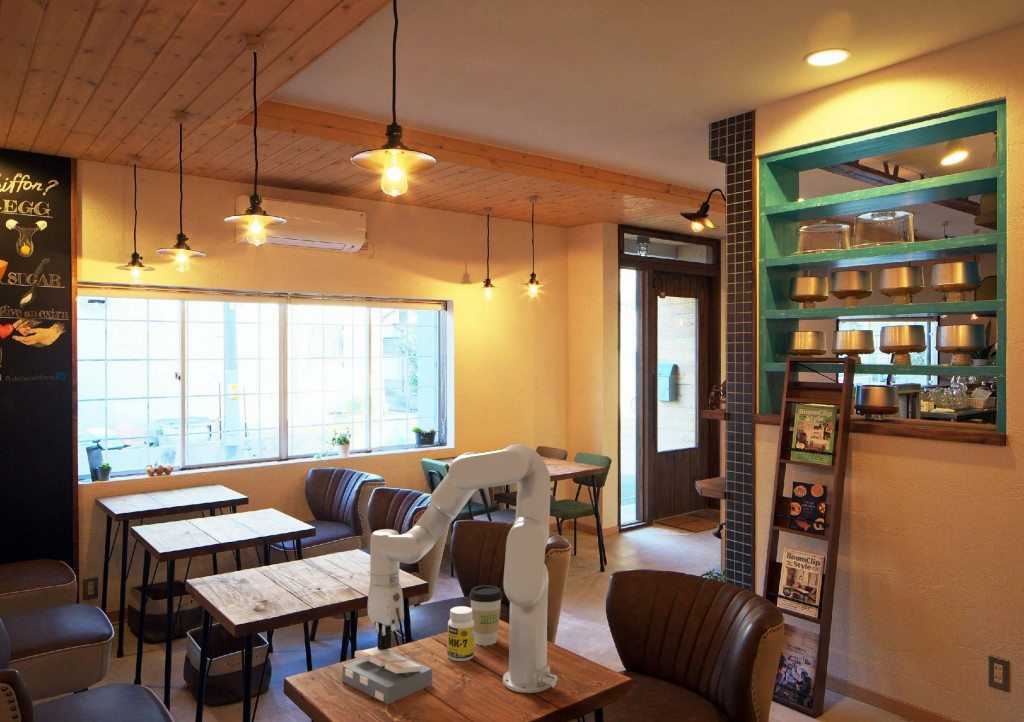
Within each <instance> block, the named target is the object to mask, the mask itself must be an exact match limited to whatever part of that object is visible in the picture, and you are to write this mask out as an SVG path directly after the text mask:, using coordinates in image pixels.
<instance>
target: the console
mask: <svg viewBox="0 0 1024 722" xmlns="http://www.w3.org/2000/svg"><path fill="white" fill-rule="evenodd" d="M389 651H390V655H397V656H399V657H401V658H404V659H406V661H411V662H413V663H415V664H418V665H420V666H422V667H421V671H418V672H407V673H394V672H392V671H390V670H387V669H385V666H379V665H376V664H374V663H372V662H370V661H366V662H365V661H363V660H360V659H358V660H357V659H356V660H354V661H352V662H349V663H346V664H344V665H342V674H341V675H342V681H343V683H344V682H345V683H344V684H346V683H348V684H349V685H348V684H347V685H348V686H350V685H351V686H350V687H352V686H353V687H352V688H354V687H355V688H354V689H356V688H357V689H356V690H358V689H359V690H358V691H360V692H362V691H363V692H362V693H364V694H366V693H367V694H366V695H368V696H369V697H372V698H374V699H376V700H378V701H380V702H382V703H384V704H386V705H390V704H392V703H395V702H396V701H399V700H401V699H403V698H406V697H409V696H410V695H412V694H414V693H417V692H419V691H422V690H423V689H426V688H429V687H430V686H432V685H433V668H431V667H429V666H427V665H424V664H422V663H420V662H418V661H414V660H413V659H410V658H409V657H408V658H407V656H403V655H401V654H398V653H396V652H394V651H391V650H389ZM406 661H405V662H406Z"/></svg>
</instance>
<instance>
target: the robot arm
mask: <svg viewBox="0 0 1024 722" xmlns="http://www.w3.org/2000/svg"><path fill="white" fill-rule="evenodd" d="M448 467H449V468H448V472H447V474H446V475H445V476H444V478H443V479H442V481H440V483H439V484H438V485H437V486H436V488H435V489H434V490H433V492H431V493H432V494H431V495H430V501H429V505H428V506H427V508H426V509H425V510H424V512H423V513H422V515H421V516H420V518H419V519H418V520H417V521H416V523H415V524H414V525H413V527H412V528H411V529H409V530H408V531H407V532H405V533H402V534H400V533H399V532H398V530H395V529H391V528H386V529H385V528H384V529H378V530H375V531H373V532H372V533H371V535H370V552H369V553H370V555H369V556H370V557H369V558H370V559H369V560H370V564H369V566H370V567H369V569H370V570H369V572H370V578H369V580H370V581H369V587H368V592H367V594H368V596H367V615H368V618H369V619H370V621H371V623H373V624H374V626H375V632H376V634H377V647H378V649H380V650H385V649H387V650H389V649H391V648H392V633H393V632H394V631H398V630H400V624H399V623H403V622H404V620H405V611H404V610H405V609H404V606H405V605H404V595H403V589H402V584H400V563H402V564H408V565H409V564H410V565H411V564H416V563H418V561H420V560H421V559H422V558H423V557H424V556H426V555H427V554H428V553H429V552H430V551H431V550H432V548H433V547H434V546H435V545H436V544H437V542H438V540H439V539H440V538H441V536H442V535H443V534H444V533H445V532H446V530H447V529H448V527H449V526H450V525H451V524H452V522H453V521H454V520H455V519H456V518H457V516H458V515H459V513H460V512H461V510H462V509H463V508H464V507H465V506H466V504H467V503H468V502H469V500H470V499H471V497H472V496H473V495H474V493H475V492H476V491H477V490H480V489H487V488H494V487H499V486H507V485H511V484H516V483H517V494H516V506H515V507H516V508H515V509H516V510H515V519H514V523H513V526H512V527H511V528H510V530H509V532H508V534H507V537H506V542H505V543H506V544H505V555H504V557H505V558H504V570H503V572H504V573H503V590H504V594H505V596H506V599H507V600H508V602H509V620H508V621H509V626H508V627H509V633H508V634H509V635H508V636H509V637H508V638H509V639H508V640H509V641H508V643H509V644H508V650H509V651H508V652H509V653H508V655H509V656H508V671H507V672H505V673H504V674H503V675H502V684H503V685H504V687H505V688H507V689H509V690H511V691H513V692H517V693H521V694H522V693H524V694H535V693H540V692H544V691H546V690H548V689H550V688H555V687H556V685H557V681H558V680H559V677H558V675H557V674H552V673H551V666H550V665H547V664H548V661H547V660H548V659H547V658H548V652H547V651H548V630H547V629H548V600H549V599H548V597H549V596H548V595H549V571H548V568H547V565H546V564H545V559H546V548H547V546H548V543H549V539H550V517H551V515H550V514H551V476H550V471H549V468H548V466H547V463H546V461H544V458H543V457H542V456H541V455H540V454H539V453H538V452H537V451H536V450H534V449H533V448H532V447H530V446H528V445H526V444H521V443H514V444H511V445H508V446H506V447H505V448H504V449H501V450H495V451H490V452H483V453H479V452H476V451H467V452H464V453H463V454H460V455H458V456H456V457H455V458H454V460H452V462H451V463H450V466H448Z"/></svg>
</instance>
